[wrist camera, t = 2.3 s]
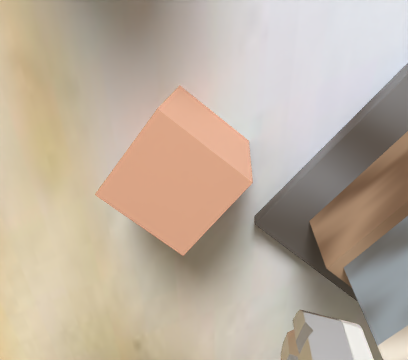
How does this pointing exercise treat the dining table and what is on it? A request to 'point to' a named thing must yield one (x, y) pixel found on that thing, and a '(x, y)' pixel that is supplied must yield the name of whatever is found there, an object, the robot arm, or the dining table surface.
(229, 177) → the light orange block
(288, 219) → the stacked open-top box
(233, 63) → the dining table surface
